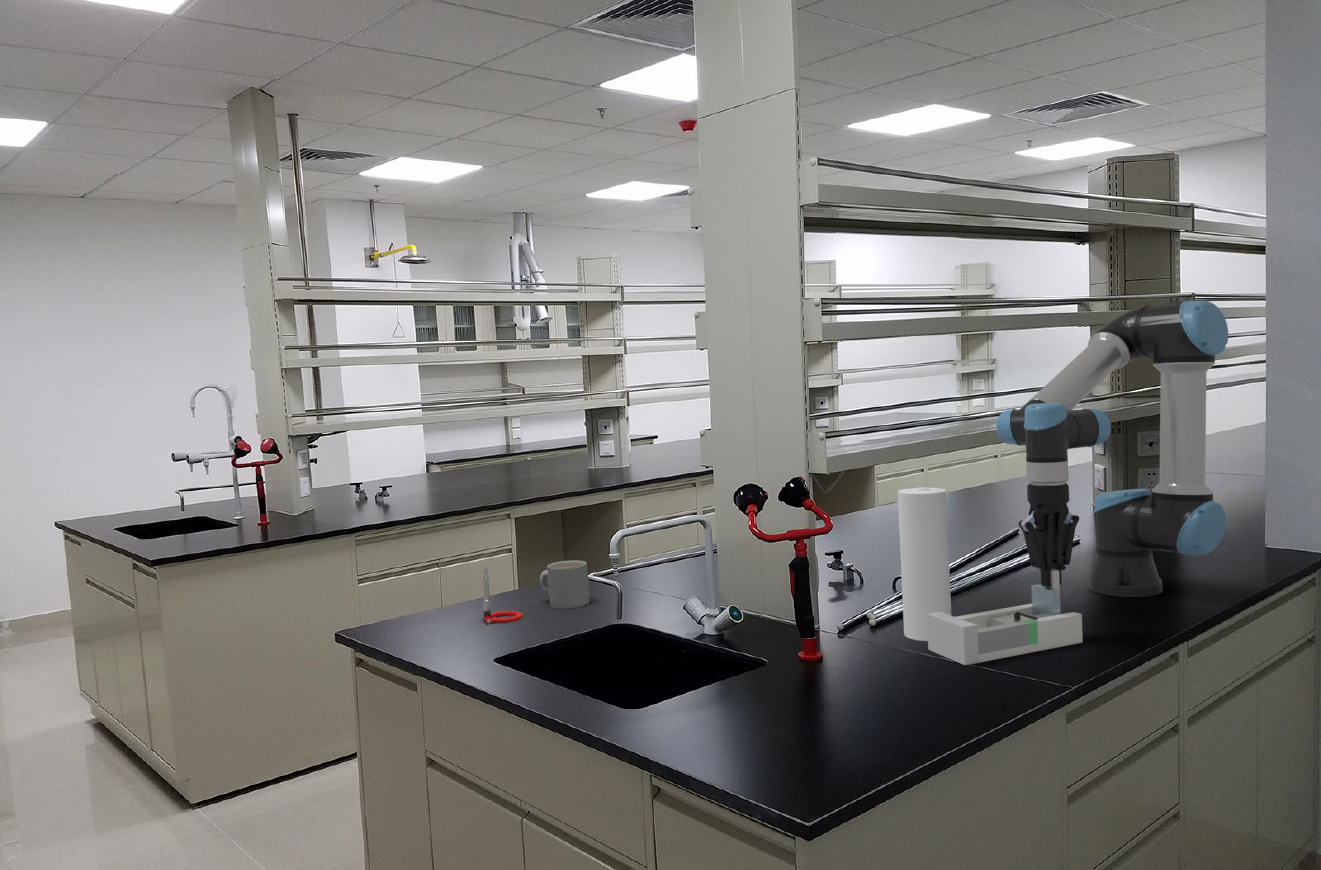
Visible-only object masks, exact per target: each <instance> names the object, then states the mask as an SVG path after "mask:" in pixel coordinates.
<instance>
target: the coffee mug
mask: <svg viewBox="0 0 1321 870" xmlns="http://www.w3.org/2000/svg"><path fill="white" fill-rule="evenodd" d="M587 564H588V563H587V562H586V561H583V560H563V561H556V562H552V563H550V564H548V565H547V568H546V570H543V571H542V572H541V573H540V575H539V585H540V588H541V590H542V592H544V593H546V594H548V596H549V606H550V607H551V608H554V609H560V610H564V609H574V608H579V607H584V606H586V604H587V605H588V604H589V603H590V590H589V577H588V565H587ZM547 582H548V584H547Z"/></svg>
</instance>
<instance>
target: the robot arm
mask: <svg viewBox="0 0 1321 870" xmlns="http://www.w3.org/2000/svg"><path fill="white" fill-rule="evenodd" d="M1228 327H1229V326H1228V323H1227V320H1226V317H1225V315H1224V313H1223V312H1222V311H1221V309H1220V308H1219V306H1218V305H1216V304H1214V303H1213V302H1212V301H1208V300H1184V301H1177V302H1176V301H1175V302H1170V303H1160V304H1152V305H1149V304H1147V305H1141V306H1137V307H1134V308H1132V309H1129V310H1127V311H1125V312H1123V313H1121V314H1120V315H1118V316H1116V317H1114V318H1113V319H1112V320H1110V321H1109V322H1107V323H1106V324H1104V325H1103V326H1102V327H1101V328H1100V329H1098V330H1097V331H1096V332H1095V333H1094V334H1093V335H1092V336H1091V337H1089V340H1088V343H1087V346H1086V348H1084V349H1083V350H1082V351H1080V353H1078V355H1077V356H1076V357H1074V358H1073V360H1071V361H1070V362H1069V363H1068V364H1067V365H1066V366H1065V367H1064V368H1063V369H1062V370H1060V372H1059V373H1057V374H1056V375H1055V376H1054V377H1053V378H1051V379H1050V381H1049V382H1047V383H1046V385H1044V386H1043V387H1042V388H1041V389H1040V390H1039V391H1038V392H1037V393H1036V394H1034V395H1033V397H1032V398H1030V399H1029V400H1028V401H1027V402H1026V403H1025V404H1024V405H1023V406H1021V407H1020V408H1018V409H1017V408H1012V409H1007V410H1004V411H1002V412H1001V413H1000V415H998V417H997V421H996V423H995V424H996V427H995V428H996V430H995V431H996V433H997V435H998V437H999V439H1000V441H1002V442H1003V443H1004V444H1007V445H1015V446H1020V447H1022V446H1025V455H1026V457H1025V460H1026V461H1025V463H1026V464H1025V465H1026V466H1025V467H1026V481H1028V484H1027V485H1026V492H1027V498H1026V499H1027V502H1028V504H1029V511H1028V516H1027V517H1026V518H1025V519H1024V520H1019V521H1018V527H1020V530H1021V531H1022V534H1023V537H1024V541H1025V545H1026V550H1027V553H1028V558H1029V561H1030V566H1031V567H1033V568H1036V569H1038V570H1040V585H1042V586H1044V587H1050V588H1053V589H1057V590H1060V591H1061V589H1060V586H1062V582H1063V580H1062V579H1063V578H1062V571H1064V570H1066V568H1067V566H1069V565H1070V563H1071V560H1072V559H1071V558H1072V553H1073V548H1074V547H1073V546H1074V540H1075V533H1076V527H1077V525H1078V523H1079V521H1080V516H1079V515H1074V514H1072V513H1071V512H1070V509H1069V506H1068V504H1067V503H1069V502H1070V485H1069V484H1068V483H1067V482H1068V481H1069V478H1070V477H1069V475H1070V474H1069V455H1068V451H1069V450H1072V449H1079V448H1080V449H1081V448H1093V447H1095V446H1098V445H1101V444H1104V443H1105V442H1106V441H1107V440H1108V439H1109V437H1110V434H1111V429H1112V426H1111V421H1110V419H1109V417H1108V415H1107V414H1106V413H1105V412H1104V411H1102V410H1101V409H1097V408H1082V409H1074V408H1076V407H1077V406H1078V405H1079V404H1080V403H1081V402H1082V401H1083V400H1084V399H1085V398H1086V397H1087V396H1088V395H1089V394H1090V393H1092V391H1094V390H1095V389H1096V388H1097V387H1098V386H1099V385H1100V384H1101V383H1102V382H1103V381H1104V380H1105V379H1106V378H1107V377H1108V376H1109V375H1110V374H1112V372H1113V371H1115V370H1120V369H1122V368H1124V367H1126V365H1127V364H1129V363H1130V362H1133V361H1135V360H1136V361H1137V360H1140V359H1146V358H1151V359H1152V366H1153V367H1154V368H1155V369H1157V370H1158V371H1159V373H1160V400H1159V403H1160V405H1159V406H1160V409H1159V414H1160V415H1159V417H1160V419H1159V483H1157V485H1155V487H1153V488H1152V489H1150V488H1131V489H1123V490H1122V489H1121V490H1114V491H1113V490H1111V491H1106V492H1101V493H1099V494H1098V495H1097V494H1096V496H1095V498H1094V510H1093V514H1094V529H1095V533H1094V534H1095V559H1094V563H1093V565H1092V571H1091V574H1090V575H1089V578H1088V590H1089V591H1092V592H1094V593H1096V594H1100V595H1105V596H1110V597H1117V598H1119V597H1120V598H1144V597H1145V598H1146V597H1152V596H1153V597H1154V596H1157V595H1160V594H1162V593H1163V581H1162V578H1161V577H1160V576H1159V572H1158V570H1157V569H1158V568H1157V566H1156V562H1155V560H1154V556H1153V550H1155V551H1156V550H1157V551H1164V552H1169V553H1179V554H1181V555H1184V556H1185V555H1194V556H1205V555H1207V554H1210V553H1211V552H1213V551H1214V550H1215V549H1216V548H1217V547H1218V545H1219V544H1220V542H1221V541H1222V539H1223V536H1224V533H1225V530H1226V525H1227V523H1226V522H1227V518H1226V517H1227V514H1226V511H1224V506H1223V505H1221V504H1220V503H1218V502H1216V501H1214V491H1213V490H1212V489H1210V488H1209V486H1207V484H1206V450H1207V449H1206V443H1207V442H1206V441H1207V439H1206V438H1207V433H1206V432H1207V431H1206V430H1207V373H1208V371H1209V370H1210V369H1211V368H1213V366H1214V365H1216V363H1215V361H1216V356H1218V355H1220V354H1221V353H1223V352H1224V351H1225V350H1226V348H1227V347H1226V345H1227V344H1228V341H1229V328H1228Z"/></svg>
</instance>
